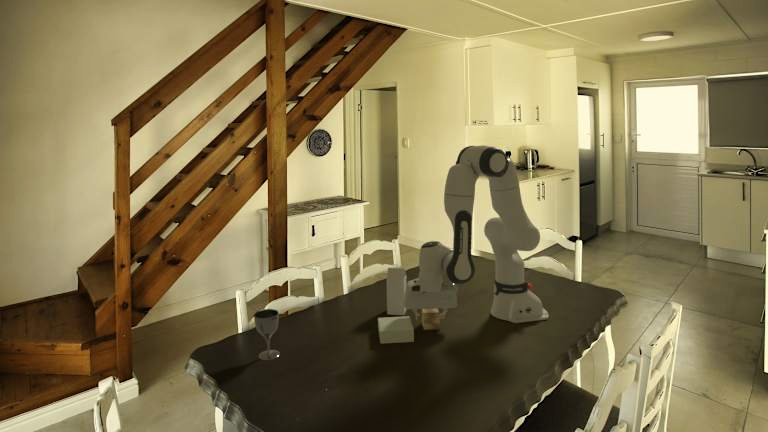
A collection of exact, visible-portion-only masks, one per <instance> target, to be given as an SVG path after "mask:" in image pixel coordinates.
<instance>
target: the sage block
mask: <svg viewBox="0 0 768 432" xmlns="http://www.w3.org/2000/svg"><path fill="white" fill-rule="evenodd" d="M412 323H413V322H412V320H411V317H410V316H405V315H403V316H391V317H378V318H377V328H378V329H377V331H378V337H379V341H380V344H394V343H395V344H397V343H399V344H400V343H413V342H415V332H414V331H415V329H414V326H413V324H412Z"/></svg>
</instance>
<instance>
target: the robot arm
mask: <svg viewBox="0 0 768 432" xmlns="http://www.w3.org/2000/svg"><path fill="white" fill-rule="evenodd" d="M479 177H487V179H488V185H489V192H490V198H491V199H490V200H491V206H492V210H494V211H495V213H496V214H497V215H498V216H499V217H492V218H489V219H488V220H487V221H486V222H485V225H484V230H483V232H484V235H485V238H487V240H488V242H489V244H490V246H491V248H492V252H493V256H494V261H495V262H494V264H495V279H494V280H493V294H494V295H493V302H492V305H491V310H490V314H491V315H492V316H493V317H495V318H496V319H499V320H502V321H503V320H504V321H508V322H511V323H513V324H519V323H520V324H521V323H528V322H536V321H544V320H548V319H549V312H548V311H547V310H546V309H545V308H544V307H543V303H542V301H541V299H540V298H539V296H537V295H536V294H534V293H533V292H532V291H531V290H532V289H533V285H532V284H531V283H529V282H528V281H527V280H525V262H524V259H523V258H522V257H521V255H520V254H519V252H531V251H533V250H535V249H536V248H537V247H538V246H539V244H540V241H541V234H540V230H539V229H538V228H537V226H535V225H534V224H533V223H532V221H531V219H530V218H529V216H528V214H527V212H526V210H525V207H524V204H523V200H522V195H521V189H520V181H519V175H518V172H517V168H516V166H515V162H514V161H513V160H512V159H511V158H508V157H507V154H506V153H505V151H503V150H502V149H501V148H499V147H496V146H489V145H469V146H466V147H464V148H462V149H461V150H460V152H459V153H458V156H457V159H456V162H455V164H454V165H451V167H450V168H449V169H448V171H447V175H446V180H445V185H444V194H443V195H444V196H443V203H444V204H443V206H444V211H445V214H446V216H447V217H448V219H449V221H450V223H451V227H452V230H453V238H452V239H453V242H452V243H453V245H452V248H451V247H449V246H446V245H444V244H443V243H442V242H440V241H437V240H432V241H427V242H425V243H423V244H422V245H421V246H420V249H419V255H418V256H419V257H418V268H419V274H418V277H417V278H414V279H412V280H408V281H406V282H407V289H406V291H405V294H404V307H405V308H406V310H412V312H413V313H414V315H415V320H417V321H418V320H420V319H421V315H420V313H418V310H422V309H434V308H437V309H443V310H442V312H441V313H440V312H439V314H440V320H444V319H446V318H445V317H446V316H445V315H446V314H447V312H448V311H449V309H456V308H457V306H458V298H457V294H458V290H459V289H458V285H465V284H467V283H469V282H470V281H471V280H472V279H473V278H474V276H475V273H476V267H475V264H474V263H475V262H474V260H473V258H472V243H473V242H472V240H473V236H472V235H473V232H472V231H473V213H474V207H475V206H474V205H475V204H474V203H475V197H476V196H475V195H476V194H475V193H476V183H477V181H478V179H479ZM518 251H519V252H518ZM444 275H446V276H447V278H448V280H449V281H450V282H452V283H443V276H444Z"/></svg>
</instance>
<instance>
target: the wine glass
mask: <svg viewBox="0 0 768 432" xmlns="http://www.w3.org/2000/svg"><path fill="white" fill-rule="evenodd" d="M253 318H254V319H253V320H254V326H255V329H256V332H257V333H259V334H260V335H261V336H263V338H264V339H265V341H266V345H267V348H266V349H267V350H263V351H261V353H259V354H258V359H259V360H262V361H271V360H274V359H276V358H278V357H279V356H280V355H281V354H280V353H281V352H280V351H278V350H276V349H271V348H270V345H271V342H270V341H271V338H272V336H273V335H274V333H276V331H277V329H278V327H279V310H277V309H272V308H268V309H267V308H266V309H265V308H264V309H261V310H258V311H256V312H254V314H253Z"/></svg>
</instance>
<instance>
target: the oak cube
mask: <svg viewBox="0 0 768 432" xmlns="http://www.w3.org/2000/svg"><path fill="white" fill-rule="evenodd" d="M421 325H422V328H423V331H425V330H427V331H429V330H440V327H441V326H440V325H441V318H440V311H439V308H434V309H421Z"/></svg>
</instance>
